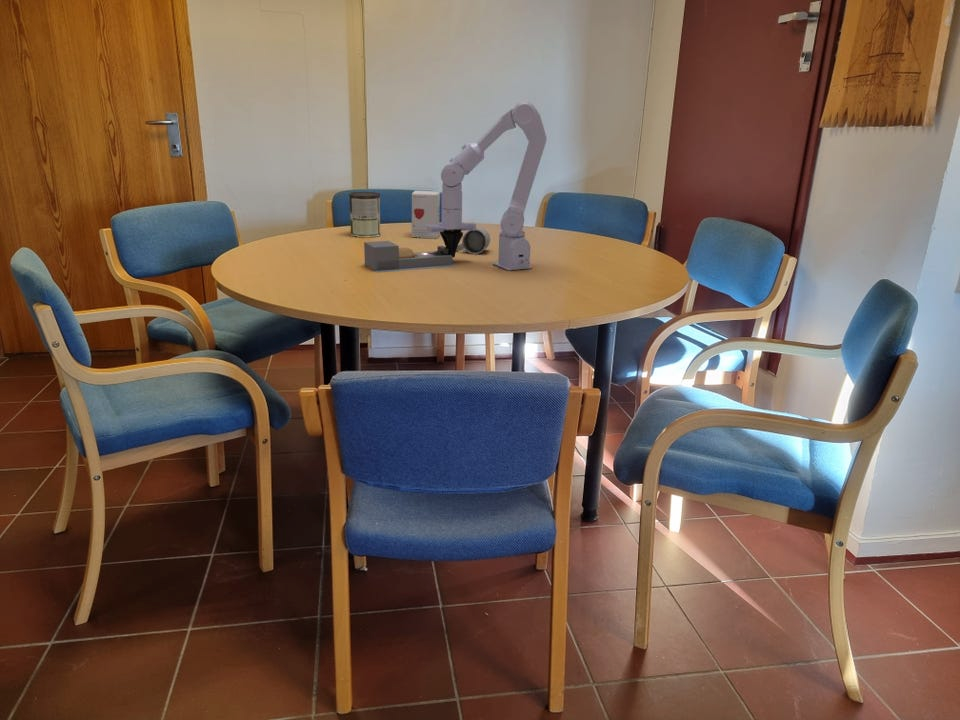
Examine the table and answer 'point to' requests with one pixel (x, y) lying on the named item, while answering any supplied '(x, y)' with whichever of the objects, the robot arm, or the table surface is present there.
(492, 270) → the table surface
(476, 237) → the ceramic mug
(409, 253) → the block
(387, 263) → the grey slotted fixture
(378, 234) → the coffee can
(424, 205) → the supplement box
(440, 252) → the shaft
